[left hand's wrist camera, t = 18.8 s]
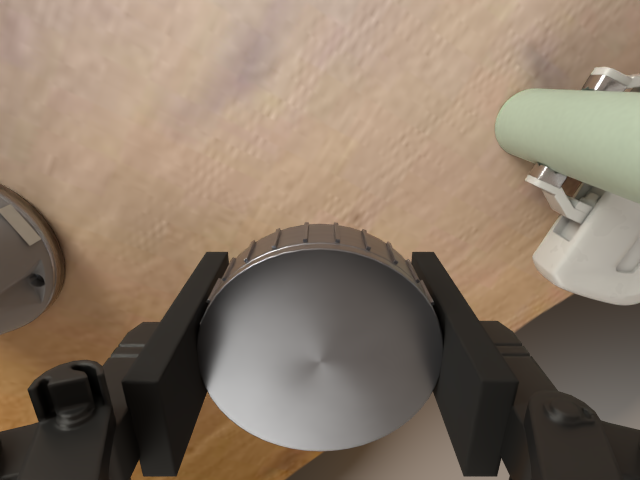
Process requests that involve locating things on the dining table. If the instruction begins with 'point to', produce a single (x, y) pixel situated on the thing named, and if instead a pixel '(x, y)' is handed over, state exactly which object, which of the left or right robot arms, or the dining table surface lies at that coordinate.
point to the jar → (577, 135)
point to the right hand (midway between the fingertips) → (561, 128)
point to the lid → (320, 339)
